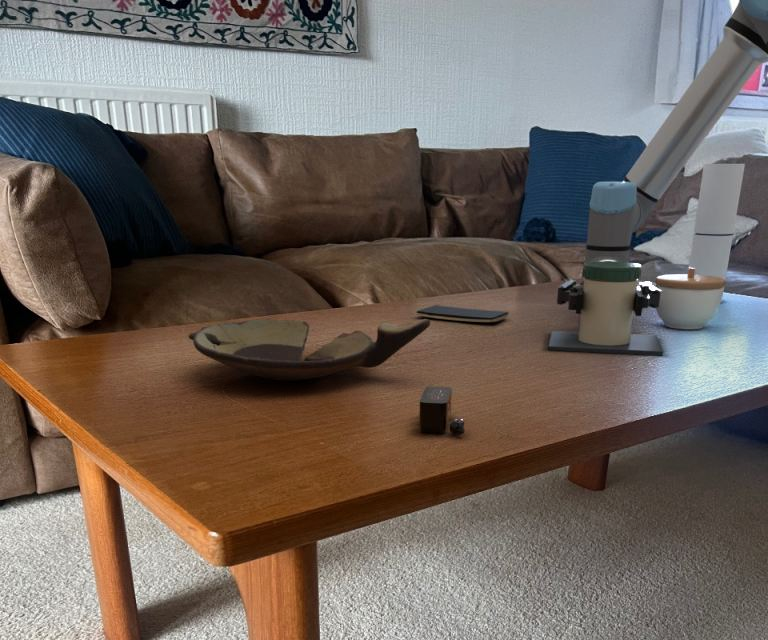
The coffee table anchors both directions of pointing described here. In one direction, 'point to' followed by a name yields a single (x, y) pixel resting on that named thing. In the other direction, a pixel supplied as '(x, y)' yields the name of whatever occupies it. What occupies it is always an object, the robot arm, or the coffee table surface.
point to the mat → (636, 346)
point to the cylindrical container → (716, 219)
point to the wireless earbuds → (438, 411)
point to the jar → (607, 312)
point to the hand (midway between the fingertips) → (609, 305)
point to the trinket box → (688, 299)
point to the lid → (612, 271)
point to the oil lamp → (298, 348)
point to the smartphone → (462, 314)
